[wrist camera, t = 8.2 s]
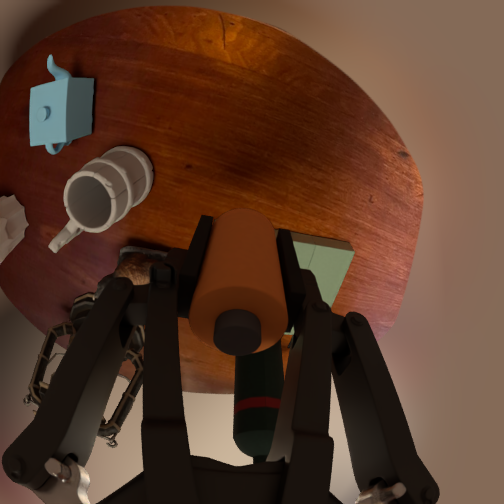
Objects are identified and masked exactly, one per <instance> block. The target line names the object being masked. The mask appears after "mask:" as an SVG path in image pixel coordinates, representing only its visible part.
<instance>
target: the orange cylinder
mask: <svg viewBox="0 0 504 504" xmlns="http://www.w3.org/2000/svg"><path fill="white" fill-rule="evenodd" d="M189 324H190V327H191V329H192V331H193V333H194V334H195V336H196V337H197V338H198V339H199V340H200V341H201V342H203V343H204V344H206V345H207V346H209V347H211V348H213V349H215V350H218V351H221V352H224V353H226V354H229V355H234V356H243V355H248V354H251V353H256V352H259V351H262V350H265V349H267V348H269V347H271V346H273V345H274V344H275V343H277V342H278V341H279V340H280V339H281V338H282V336H283V335H284V333H285V331H286V329H287V326H288V313H287V306H286V300H285V293H284V286H283V280H282V274H281V267H280V261H279V255H278V249H277V243H276V237H275V231H274V228H273V226H272V224H271V222H270V221H269V220H268V219H267V218H266V217H265V216H264V215H262V214H261V213H259V212H257V211H255V210H251V209H245V208H239V209H233V210H230V211H227V212H226V213H224V214H222V215H221V216H220V217H219V218H218V219H217V220H216V221H215V222H214V224H213V226H212V229H211V232H210V236H209V239H208V243H207V246H206V250H205V254H204V257H203V261H202V264H201V268H200V272H199V276H198V279H197V283H196V287H195V291H194V294H193V298H192V302H191V306H190V310H189Z"/></svg>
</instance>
